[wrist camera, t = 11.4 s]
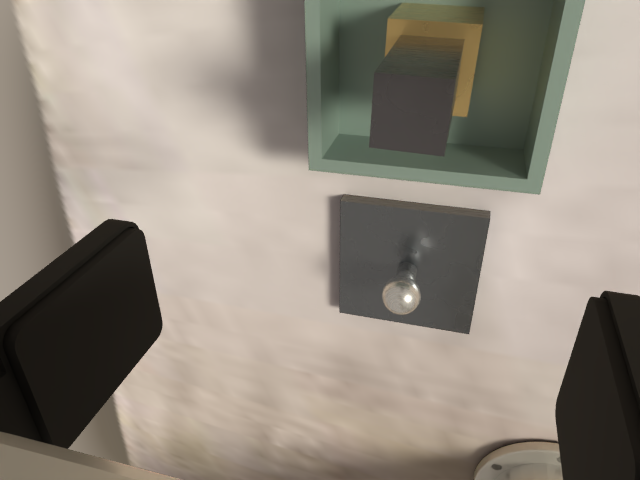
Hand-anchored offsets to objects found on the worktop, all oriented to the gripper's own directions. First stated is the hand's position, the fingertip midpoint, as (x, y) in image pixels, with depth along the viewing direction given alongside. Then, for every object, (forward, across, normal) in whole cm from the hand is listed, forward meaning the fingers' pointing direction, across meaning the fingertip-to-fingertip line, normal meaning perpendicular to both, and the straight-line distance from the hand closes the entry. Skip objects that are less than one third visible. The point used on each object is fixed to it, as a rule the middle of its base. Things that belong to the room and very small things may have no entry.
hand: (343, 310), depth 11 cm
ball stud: (+24, +1, +15) cm, 29 cm away
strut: (+23, 0, -1) cm, 23 cm away
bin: (+24, 0, -1) cm, 24 cm away
